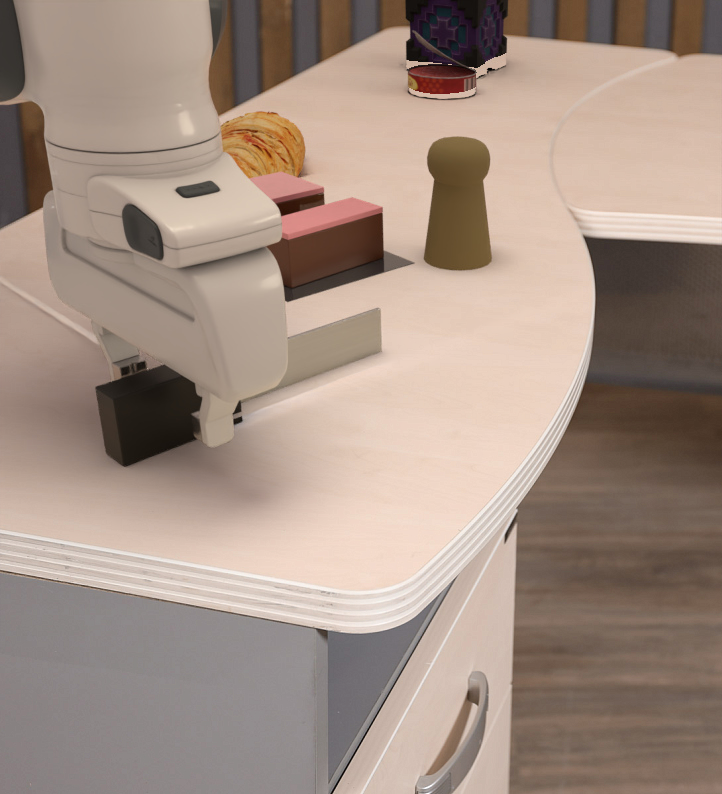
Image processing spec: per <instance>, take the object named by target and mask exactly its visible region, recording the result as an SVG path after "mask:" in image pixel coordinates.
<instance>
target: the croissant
mask: <svg viewBox="0 0 722 794" xmlns="http://www.w3.org/2000/svg"><path fill="white" fill-rule="evenodd" d="M220 125H221V135H222V146H223V152H226V153H228V154H229V155H230V156H231V157H232V158H233V159H234V161H235V162H236V164H237V165H238V167H239V168H240V169H241V170H242V172H243V173H244V174H245V175H246V176H247V177H248V178H253V177H258V176H263V175H268V174H272V173H277V172H284V173H287V174H290V175H292V176H295V177H298V178H299V175H300V174H301V172H302V170H303V168H304V161H305V158H306V143H305V137H304V135H303V133H302V131H301V130H300V129H299V127H298V126H297V125H296V124H295V123H294V122H292V121H290V119H289V118H285V117H283V116H280V114H279V113H278V112H274V111H263V110H262V111H261V110H260V111H259V110H258V111H255V112H246V113H244V115H240V116H237V117H235V118H233V119H230V120H226V121H225V122H223V123H222V124H220Z"/></svg>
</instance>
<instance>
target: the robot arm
mask: <svg viewBox="0 0 722 794" xmlns="http://www.w3.org/2000/svg"><path fill="white" fill-rule="evenodd" d="M228 10H229V0H0V106H10V105H16V104H23V103H29V102H32V103H35V104H36V105H37V106H38V107H39V108H40V109H41V111H42V113H43V116H44V118H43V120H44V130H43V137H44V145H45V150H46V155H47V161H48V167H49V173H50V179H51V185H52V190H49V191H47V193H46V194H45V196H44V197H43V202H42V203H43V204H42V220H43V232H44V242H45V244H44V245H45V253H46V260H47V267H48V268H47V269H48V275H49V280H50V283H51V285H52V288H53V290H54V293H55V294H56V296H57V299H58V300H59V301H60V302H61V303H63V304H65V305H66V306H68V307H69V308H71V309H73V310H74V311H76V312H78V313H80V315H82V316H84V317H86V318H87V319H89V320H90V322H91V327H92V329H91V330H92V332H93V334H94V336H95V338H96V340H97V342H98V344H99V347H100V348H101V350H102V353H103V354H104V357H105V359H106V360H107V365H108V371H109V376H110V382H112V381H115V380H118V379H121V378H124V377H127V376H130V375H133V374H136V373H140V372H143V371H146V370H148V363H147V359H146V358H145V357H144V356H142V355H141V353H140V351H141V352H144V353H145V354H146V355H148V356H150V357H151V358H153V359H154V360H156V361H158V362H160V363H161V364H162V365H166V366H168V367H169V368H171V369H172V370H174V371H176V372H177V373H179V374H181V375H182V376H184V377H186V378H187V379H189V380H190V381H192V382H194V383H195V387H196V393H197V395H199V396H200V397H202V403H201V408H200V411H197V412H194V413H192V414H191V418H192V425H193V427H194V430H193V434H194V436H195V437H196V438H197V439H196V440H198V441H200V442H201V443H202V444H204V445H205V446H207V447H208V448H212V449H215V448H217V447H219V446H222V445H225V444H227V443H230V442H231V441H232V440H233V438H234V437H235V424H234V423H233V419H234V415H233V413H234V411H235V408H236V406H237V404H238V402H239V400H242V399H245V398H248V397H251V396H254V395H257V394H259V393H262V392H264V391H267V390H270V389H272V388H274V387H276V386H277V385H278V384H279V383H280V381H281V380H282V378H283V376H284V374H285V373H286V370H287V364H288V322H287V321H288V320H287V308H286V307H287V306H286V301H285V296H284V287H283V280H282V276H281V272H280V268H279V266H278V263H277V261H276V259H275V257H274V255H273V254H272V253H271V251H270V250H269V249H268V248H267V247H266V246H268V245H271V244H274V243H277V242H279V241H280V240H281V238H282V219H281V214H280V211H279V208H278V207H277V205H276V204H275V203H274V202H273V201H272V200H271V199H270V198H269V197H268V196H267V195H266V194H265V193H264V192H262V191H261V190H260V189H259V188H258V187H257V186H256V185H255V184H254V183H253V182H252V181H251V180H250V179H249V178H248V177H247V176H246V175H245V174H244V173H243V172H242V170H241V169H240V168H239V167H238V165H237V164H236V162H235V161H234V159H233V158H232V157H231V156H230V155H229V154H228V153H226V152H223V146H222V135H221V125H222V124H221V121H220V117H219V114H218V111H217V109H216V106H215V105H214V101H213V98H212V94H211V89H210V80H209V78H210V67H211V66H210V65H211V62H212V60H213V57H214V56H215V54H216V52H217V50H218V48H219V46H220V44H221V41H222V38H223V36H224V33H225V29H226V25H227V19H228V12H229V11H228Z"/></svg>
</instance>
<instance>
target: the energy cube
mask: <svg viewBox="0 0 722 794" xmlns="http://www.w3.org/2000/svg"><path fill="white" fill-rule="evenodd" d="M404 4H405V7H404V9H405V20H406V21H408V22H409V38H408V39H407V40H406V41H405V61H406V60H409V61H418V62H433V63H442V64H452V65H459V64H457V63H455V62H452V61H450V60H448V59H446V58H444V57H442V56H439V55H438V54H436V53H434V52H432V51H431V50H429V49H428V48H426V47H425V46H424V45H423V44H421V43H420V42H419V41H418V39H417V38H416V36H415V33H413V32H412V30H414V31H416V32H417V33H418V34H419V35H420V36H421V37H422V38H423V39H424V40H426V41H427V42H428V43H429V44H430V45H432V46H433V47H434V48H436V49H437V50H439V51H440V52H442V53H443V54H445V55H446V56H448V57H449V58H451V59H453V60H455V61H456V62H458V63H460V64H462V65H464V66H466V67H474V68H478V67H480V66H481V65H483V64H485V62H486V61H488V60H490V59H492V58H494V57H498V56H501V55H503V54H505V53H507V54H508V38H507V37H506V36H505V35H504V25H505V24H504V23H505V21H504V20H505V19H506V18H508V17H509V16H508V15H509V0H405V1H404ZM462 65H459V66H462Z"/></svg>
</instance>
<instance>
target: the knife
mask: <svg viewBox="0 0 722 794" xmlns="http://www.w3.org/2000/svg"><path fill="white" fill-rule="evenodd" d="M287 338H288V364H287V370H286V373H285V374H284V376H283V378H282V380H281V381H280V383H279V384H278V385H277V386H276V387H274V388H272V389H270V390H267V391H264V392H262V393H259V394H257V395H254V396H251V397H248V398H245V399H242V400H239V402H238V404H237V406H236V408H235V411H234V413H233V416H234V415H237V414H238V413H242V411H243V409H242V404H243V403H246V402H249V401H252V400H254V399H256V398H259V397H262V396H265V395H267V394H270V393H273V392H276V391H278V390H281V389H285V388H287V387H289V386H292V385H295V384H297V383H300V382H303V381H306V380H309V379H311V378H314V377H317V376H320V375H322V374H325V373H327V372H330V371H333V370H335V369H338V368H341V367H343V366H347V365H350V364H352V363H354V362H357V361H360V360H363V359H366V358H368V357H371V356H373V355H376V354H380V353H382V351H383V350H382V349H383V348H382V347H383V346H382V345H383V343H382V311H381V308H380V307H375V308H373V309H369V310H367V311H364V312H360V313H357V314H354V315H351V316H348V317H345V318H342V319H339V320H335V321H332V322H330V323H327V324H324V325H321V326H318V327H315V328H312V329H309V330H306V331H303V332H300V333H297V334H293V335H291V336H287ZM94 388H95V396H96V402H97V409H98V413H99V420H100V426H101V432H102V433H101V434H102V438H103V445H104V451H105V453H106V454H107V455H108V456H109V457H110V458H112V459H113V460H115V461H116V462H118V463H119V464H120V465H121V466H122V467H127V466H129V465H132V464H134V463H137V462H140V461H143V460H145V459H147V458H149V457H153V456H156V455H158V454H160V453H163V452H166V451H169V450H171V449H173V448H176V447H179V446H181V445H184V444H187V443H189V442H192V441H195V440H198V439H197V438H196V437H195V436H194V434H193V430H194V427H193V425H192V418H191V414H192V413H194V412H197V411H200V408H201V403H202V397H200V396H199V395H197V393H196V387H195V383H194V382H192V381H190V380H189V379H187V378H186V377H184V376H182V375H181V374H179V373H177V372H176V371H174V370H172V369H171V368H169V367H168V366H166V365H164V364H162V365H158V366H155V367H152V368H149V369H147V370H146V371H143V372H140V373H136V374H133V375H130V376H127V377H124V378H121V379H118V380H115V381H109V382H105V383H103V384H99V385H96V386H95V387H94ZM243 421H244V420H243V415H240V416H238V417H235V418H233V423H234V425H237V424H240V423H242V422H243Z"/></svg>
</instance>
